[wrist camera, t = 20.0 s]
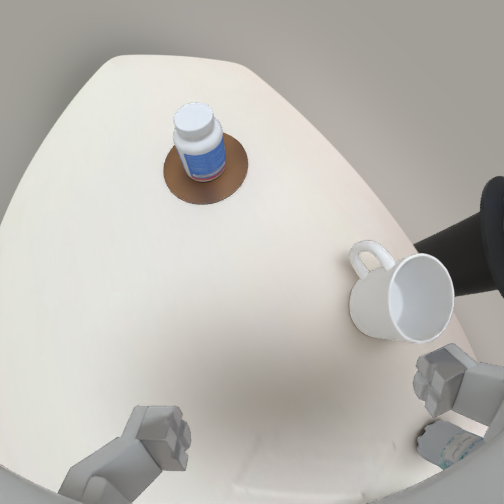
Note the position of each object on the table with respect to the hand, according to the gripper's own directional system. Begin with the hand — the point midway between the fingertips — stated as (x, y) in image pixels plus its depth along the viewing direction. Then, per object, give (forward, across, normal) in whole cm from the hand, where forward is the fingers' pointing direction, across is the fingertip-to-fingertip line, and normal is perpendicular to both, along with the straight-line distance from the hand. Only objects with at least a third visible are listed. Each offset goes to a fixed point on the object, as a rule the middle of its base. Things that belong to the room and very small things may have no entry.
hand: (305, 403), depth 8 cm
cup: (+23, -12, +8) cm, 27 cm away
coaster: (+30, +5, -11) cm, 32 cm away
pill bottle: (+29, +5, -11) cm, 32 cm away
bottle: (+13, -20, +30) cm, 38 cm away
